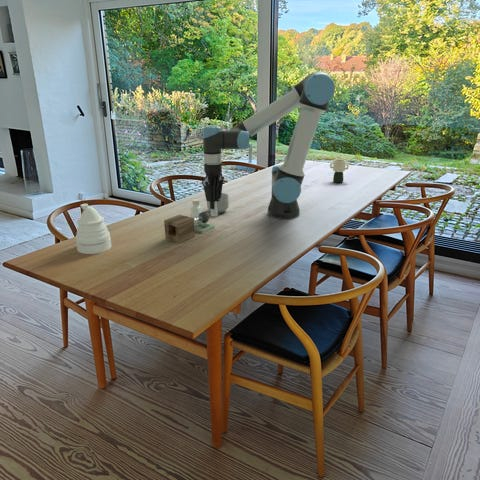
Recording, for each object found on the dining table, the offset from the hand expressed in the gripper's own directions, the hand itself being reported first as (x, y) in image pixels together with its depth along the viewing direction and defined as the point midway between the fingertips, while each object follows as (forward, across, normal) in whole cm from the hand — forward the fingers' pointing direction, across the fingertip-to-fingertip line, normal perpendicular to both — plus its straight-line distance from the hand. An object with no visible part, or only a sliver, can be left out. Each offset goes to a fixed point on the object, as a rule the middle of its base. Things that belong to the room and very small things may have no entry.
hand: (214, 215), depth 201 cm
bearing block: (+4, +23, 0) cm, 23 cm away
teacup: (+4, -16, -10) cm, 19 cm away
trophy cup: (+3, -101, +14) cm, 102 cm away
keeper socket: (+4, +9, 0) cm, 10 cm away
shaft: (+1, +14, 0) cm, 14 cm away
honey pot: (+4, +50, -20) cm, 54 cm away
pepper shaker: (+4, +1, -9) cm, 10 cm away
